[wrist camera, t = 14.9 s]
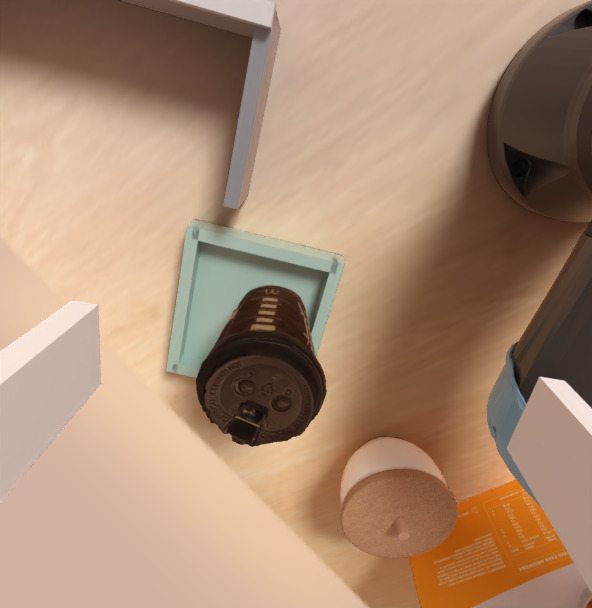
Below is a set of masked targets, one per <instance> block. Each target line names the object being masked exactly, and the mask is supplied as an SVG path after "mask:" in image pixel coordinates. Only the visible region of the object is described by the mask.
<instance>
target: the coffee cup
mask: <svg viewBox="0 0 592 608" xmlns="http://www.w3.org/2000/svg"><path fill="white" fill-rule="evenodd" d="M196 387H197V395H198V399H199V402H200V404H201V406H202V409H203V411H204V412H206V415H207V417H208V418H210V421H211V423H215V424H217V425H218V427H219V429H220V430H221V431H222V432H223V433H224V434H227V433H230V434H231V435H232V441H234V442H236V443H238V444H241V445H242V444H248V445H249V446H252V447H253V446H258V445H261V444H267V443H273V442H281V441H288V440H289V439H291V438H292V437H296V436H299V435H301V434H302V433H303V432H304V431H305V429H306V428H307V427H308V425H309V423H310V422H311V421H312V420H313V419H314V417H315V416H316V415H317V414H318V412H319V410H320V408H321V406H322V404H323V401H324V398H325V396H326V392H327V390H326V380H325V375H324V372H323V369H322V367H321V365H320V363H319V362H318V360H317V358H316V355H315V349H314V345H313V341H312V336H311V333H310V327H309V322H308V317H307V314H306V308H305V305H304V302H303V300H302V299H301V298H300V296H299V295H298V294H297V293H295V292H294V291H292V290H290V289H287V288H284V287H281V286H276V285H265V286H260V287H257V288H254V289H252V290H250V291H249V292H248V293H247V294H246V295H245V296H244V298H243V299H242V300H241V302H240V303H239V306H238V308H237V309H235V310H234V311H233V313H232V316H231V318H230V319H229V321H228V322H227V324H226V325H225V327H224V329H223V330H222V332H221V334H220V336H219V338H218V340H217V341H216V343H215V346H214V347H213V348H212V350H211V351H210V353H209V355H208V356H207V358H206V359H205V360H204V361H203V362H202V364H201V367H200V369H199V372H198V375H197V379H196Z"/></svg>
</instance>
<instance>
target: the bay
mask: <svg viewBox="0 0 592 608" xmlns="http://www.w3.org/2000/svg"><path fill="white" fill-rule="evenodd" d="M120 1H124V2H127V3H131V4H135V5H138V6H142V7H145V8H149V9H152V10H156V11H159V12H163V13H166V14H170V15H173V16H177V17H180V18H184V19H187V20H191V21H194V22H198V23H201V24H205V25H208V26H212V27H215V28H219V29H222V30H226V31H229V32H233V33H236V34H240V35H243V36H247V37H250V38H253V39H252V45H251V50H250V56H249V62H248V67H247V73H246V79H245V85H244V90H243V96H242V102H241V107H240V113H239V119H238V124H237V130H236V136H235V142H234V147H233V153H232V159H231V164H230V170H229V176H228V181H227V187H226V193H225V198H224V204H223V206H225V207H229V208H233V209H238V208H239V207H240V205H241V204H242V203H243V201H244V200H245V199H246V197H247V196H248V192H249V187H250V182H251V177H252V172H253V167H254V162H255V156H256V151H257V146H258V141H259V136H260V131H261V126H262V121H263V116H264V111H265V106H266V101H267V96H268V91H269V85H270V80H271V75H272V70H273V65H274V60H275V55H276V50H277V45H278V40H279V35H280V30H281V29H280V25H279V21H278V17H277V12H276V5H275V3H274V2H271V1H267V0H120Z"/></svg>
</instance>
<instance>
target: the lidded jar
mask: <svg viewBox="0 0 592 608" xmlns="http://www.w3.org/2000/svg"><path fill="white" fill-rule="evenodd" d="M340 499H341V524H342V528H343V531H344V533H345V535H346V536H347V538H348V539H349V540H350V541H351V542H352V543H353V544H354V545H355V546H356V547H358V548H359V549H361V550H362V551H364V552H367V553H369V554H372V555H375V556H379V557H385V558H405V557H411V556H415V555H419V554H422V553H425V552H427V551H429V550H431V549H433V548H435V547H436V546H438V545H440V544H441V543H442V542H443V541H444V540H445V539H446V538H447V537H448V536H449V535H450V534H451V532H452V530H453V529H454V527H455V524H456V521H457V516H458V511H457V505H456V502H455V499H454V497H453V495H452V493H451V491H450V490H449V488H448V485H447V483H446V481H445V479H444V477H443V475H442V473H441V472H440V470H439V468H438V467H437V465H436V464H435V462H434V461H433V460H432V459H431V458H430V456H429V455H428V454H427V453H426V452H424V451H423V450H422V449H421V448H419V447H418V446H416V445H414V444H412V443H410V442H408V441H405V440H401V439H398V438H394V437H378V438H374V439H372V440H370V441H368V442H366V443H365V444H364V445H363V446H362V447H360V448H359V449H358V450H357V451H356V452H355V453H354V454H353V455H352V456H351V458H350V459H349V461H348V462H347V465H346V467H345V469H344V472H343V476H342V481H341V492H340Z"/></svg>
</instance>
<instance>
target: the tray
mask: <svg viewBox="0 0 592 608" xmlns="http://www.w3.org/2000/svg"><path fill="white" fill-rule="evenodd" d="M344 265H345V263H344V260H343V257H342V255H339V254H335V253H331V252H327V251H323V250H319V249H315V248H311V247H307V246H303V245H298V244H294V243H290V242H286V241H282V240H278V239H274V238H270V237H266V236H262V235H258V234H254V233H250V232H246V231H241V230H237V229H233V228H229V227H225V226H221V225H217V224H213V223H209V222H205V221H201V220H197V219H194V220H193V221H192V222H191V223H190V224H188V225H187V230H186V237H185V244H184V251H183V258H182V265H181V272H180V279H179V286H178V292H177V299H176V306H175V313H174V320H173V327H172V334H171V341H170V348H169V355H168V362H167V369H166V372H171V373H176V374H180V375H185V376H190V377H194V378H197V375H198V372H199V369H200V367H201V364H202V362H203V361H204V360H205V359H206V358H207V356H208V355H209V353H210V351H211V350H212V348H213V347H214V346H215V343H216V341H217V340H218V338H219V336H220V334H221V332H222V330H223V329H224V327H225V325H226V324H227V322H228V321H229V319H230V318H231V316H232V313H233V311H234V310H235V309H237V308H238V306H239V303H240V302H241V300H242V299H243V298H244V296H245V295H246V294H247V293H248V292H249V291H250V290H252V289H254V288H257V287H260V286H265V285H276V286H281V287H284V288H287V289H290V290H292V291H294V292H295V293H297V294H298V295H299V296H300V298H301V299H302V300H303V302H304V305H305V308H306V314H307V317H308V322H309V327H310V333H311V336H312V341H313V345H314V349H315V355H317V352H318V349H319V346H320V342H321V339H322V336H323V333H324V330H325V326H326V323H327V320H328V317H329V313H330V310H331V307H332V304H333V300H334V297H335V294H336V291H337V287H338V284H339V281H340V278H341V275H342V271H343V268H344Z"/></svg>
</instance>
